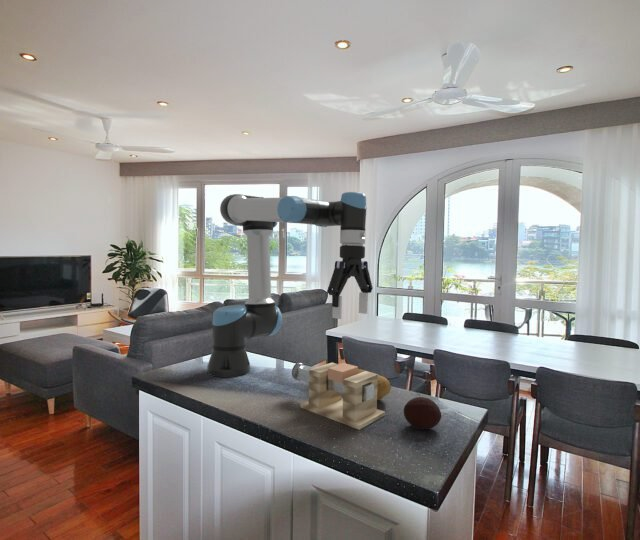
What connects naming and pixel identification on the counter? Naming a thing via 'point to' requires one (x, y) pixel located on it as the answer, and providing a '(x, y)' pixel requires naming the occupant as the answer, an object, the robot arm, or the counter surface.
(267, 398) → the counter surface
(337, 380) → the spacer
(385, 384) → the potato
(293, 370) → the shaft
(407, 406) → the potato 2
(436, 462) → the counter surface
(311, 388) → the bearing stand
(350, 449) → the counter surface
